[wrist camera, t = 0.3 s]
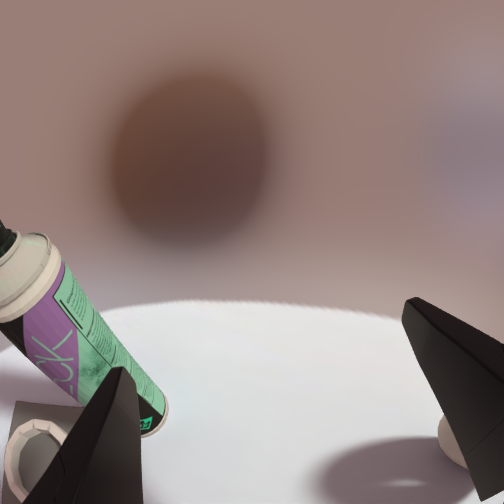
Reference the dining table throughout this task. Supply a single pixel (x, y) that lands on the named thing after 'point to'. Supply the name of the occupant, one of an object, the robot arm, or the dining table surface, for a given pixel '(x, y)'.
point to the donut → (449, 443)
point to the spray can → (64, 325)
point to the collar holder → (33, 445)
